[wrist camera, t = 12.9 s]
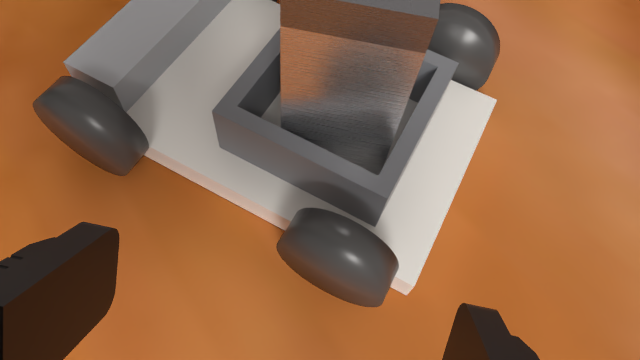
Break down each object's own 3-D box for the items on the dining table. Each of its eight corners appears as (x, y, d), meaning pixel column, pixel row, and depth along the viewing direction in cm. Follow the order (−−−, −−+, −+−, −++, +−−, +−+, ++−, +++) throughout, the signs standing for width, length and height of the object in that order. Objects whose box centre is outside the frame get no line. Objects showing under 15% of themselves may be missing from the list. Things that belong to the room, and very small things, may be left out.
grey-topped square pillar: (280, 155, 24) (280, -11, 15) (301, 79, 26) (310, -103, 17) (380, 175, 23) (438, 19, 15) (390, 96, 26) (447, -79, 17)
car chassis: (46, 137, 25) (-5, 74, 20) (213, -28, 32) (203, -103, 27) (391, 328, 21) (419, 300, 17) (495, 96, 28) (534, 33, 24)
